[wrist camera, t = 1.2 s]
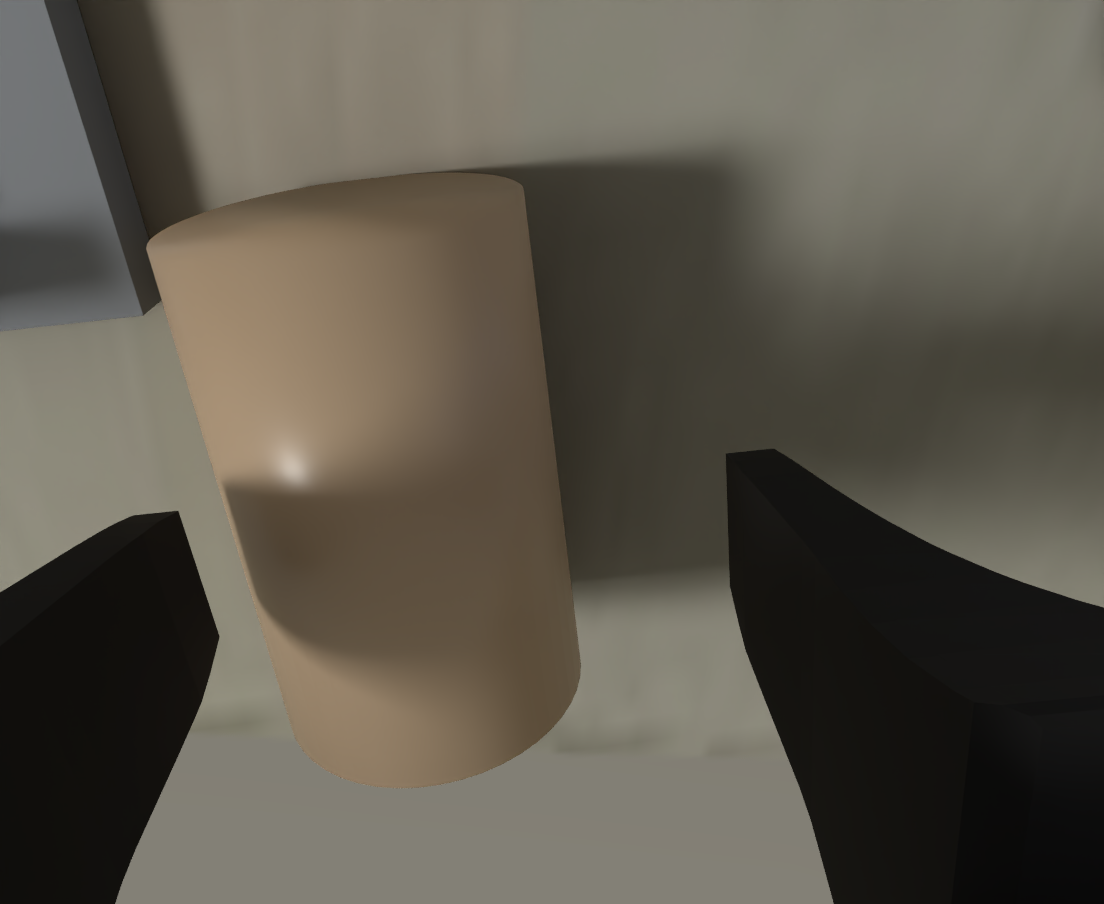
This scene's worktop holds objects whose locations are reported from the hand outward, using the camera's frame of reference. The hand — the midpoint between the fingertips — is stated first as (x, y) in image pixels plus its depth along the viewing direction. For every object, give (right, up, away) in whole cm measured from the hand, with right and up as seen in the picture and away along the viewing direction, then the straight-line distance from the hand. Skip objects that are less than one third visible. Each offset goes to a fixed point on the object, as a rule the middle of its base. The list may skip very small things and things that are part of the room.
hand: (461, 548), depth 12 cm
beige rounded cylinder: (-1, +1, +2) cm, 3 cm away
